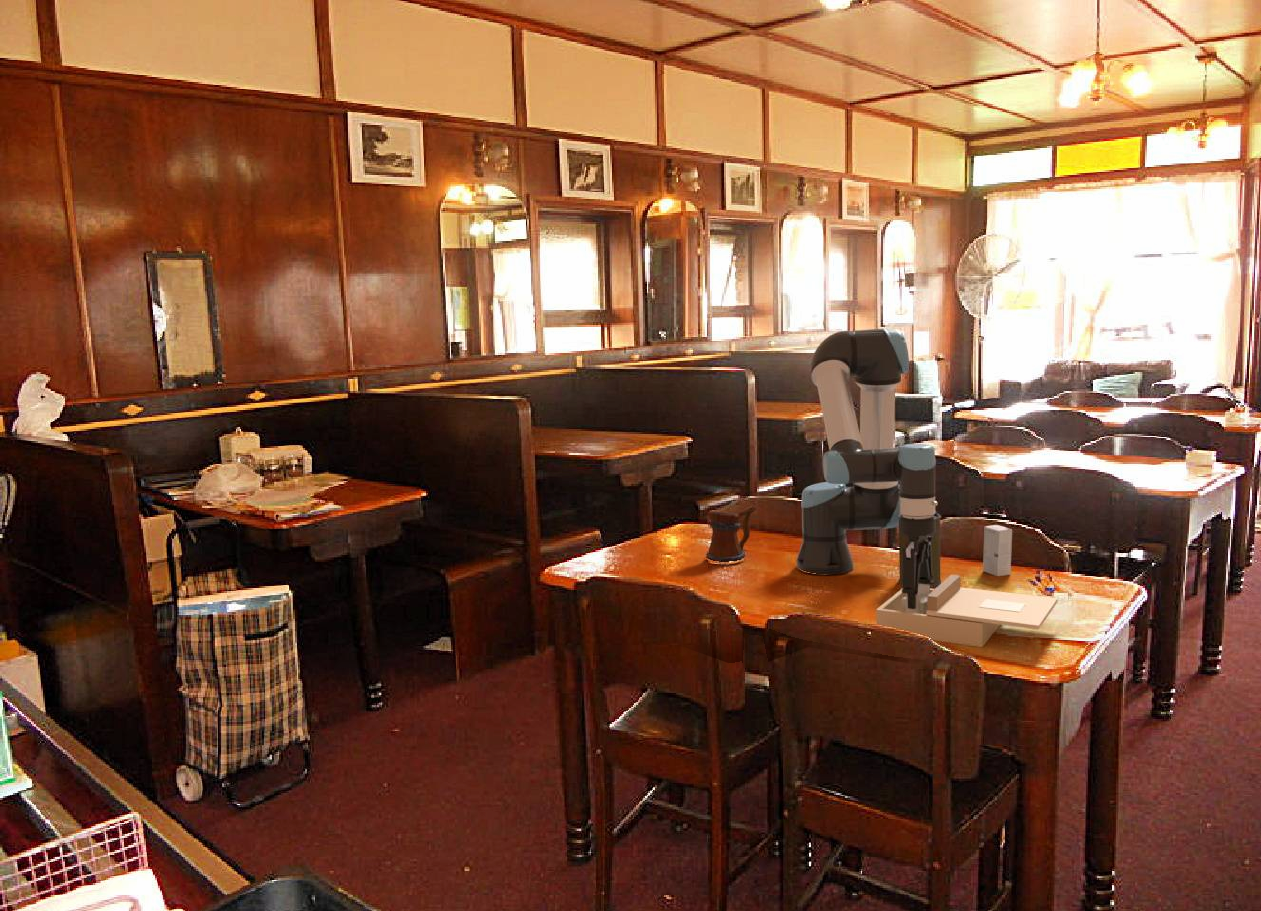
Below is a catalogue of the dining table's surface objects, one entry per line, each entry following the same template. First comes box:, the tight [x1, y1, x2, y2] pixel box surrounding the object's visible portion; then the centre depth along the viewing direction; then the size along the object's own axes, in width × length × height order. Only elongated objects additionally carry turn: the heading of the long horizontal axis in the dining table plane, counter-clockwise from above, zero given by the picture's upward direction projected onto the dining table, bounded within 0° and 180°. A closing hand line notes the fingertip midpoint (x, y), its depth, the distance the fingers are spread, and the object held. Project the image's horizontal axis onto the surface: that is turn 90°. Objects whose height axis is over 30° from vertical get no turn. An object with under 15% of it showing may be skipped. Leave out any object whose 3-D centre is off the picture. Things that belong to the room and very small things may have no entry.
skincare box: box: [982, 524, 1013, 577], centre depth 241 cm, size 6×4×12 cm
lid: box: [926, 574, 1059, 630], centre depth 197 cm, size 22×20×4 cm
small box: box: [901, 594, 927, 615], centre depth 206 cm, size 6×6×5 cm
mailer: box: [875, 587, 1001, 648], centre depth 203 cm, size 22×20×5 cm
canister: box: [898, 511, 942, 589], centre depth 235 cm, size 11×10×20 cm
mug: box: [705, 504, 757, 562], centre depth 269 cm, size 18×12×15 cm, turn 128°
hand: (918, 616), depth 206 cm, fingers closed on small box, 7 cm apart
